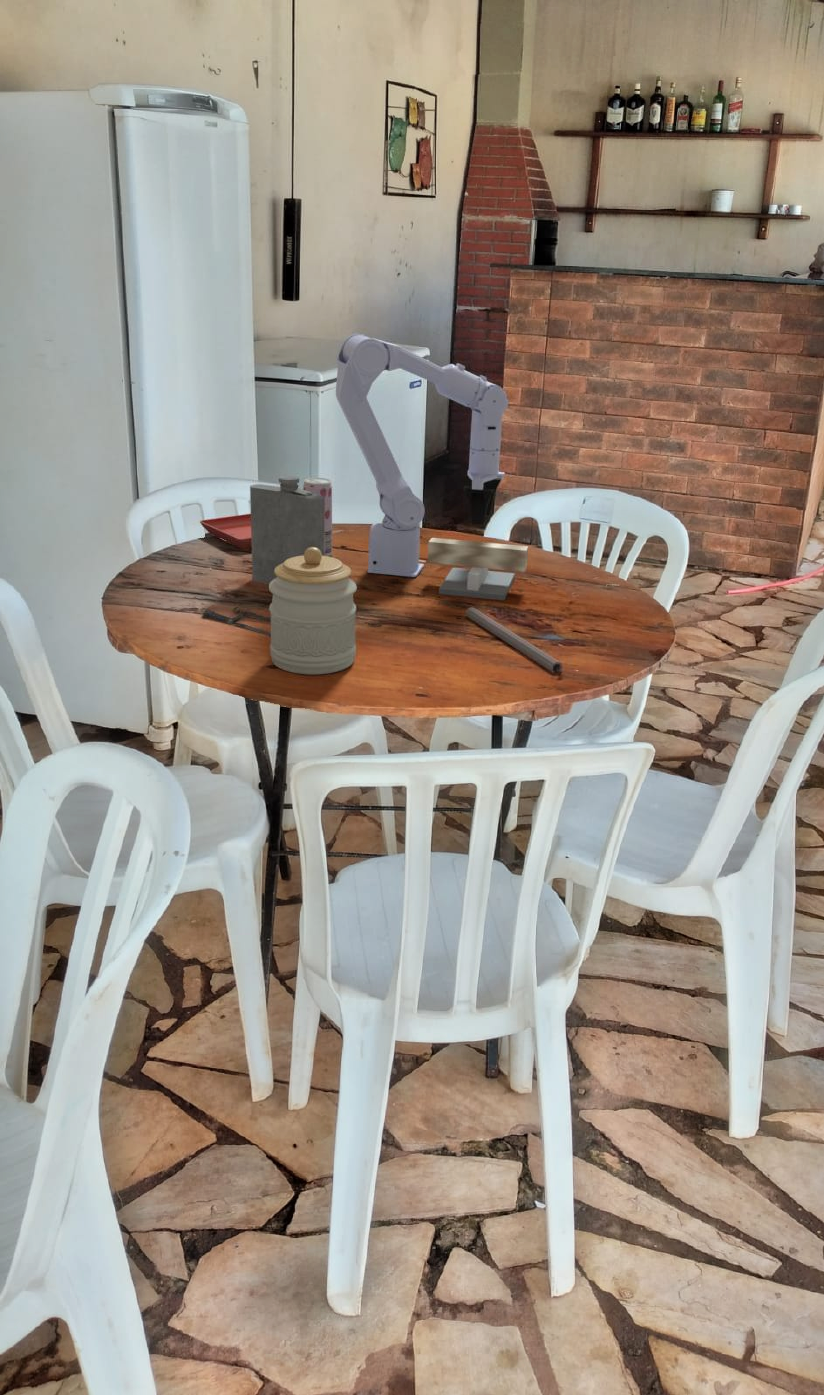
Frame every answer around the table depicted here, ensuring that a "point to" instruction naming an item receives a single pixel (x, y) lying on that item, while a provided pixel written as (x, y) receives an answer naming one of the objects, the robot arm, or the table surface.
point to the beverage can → (325, 489)
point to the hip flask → (283, 525)
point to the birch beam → (477, 554)
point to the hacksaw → (241, 614)
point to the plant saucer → (231, 529)
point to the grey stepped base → (477, 583)
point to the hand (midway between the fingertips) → (480, 519)
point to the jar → (312, 615)
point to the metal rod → (514, 640)
